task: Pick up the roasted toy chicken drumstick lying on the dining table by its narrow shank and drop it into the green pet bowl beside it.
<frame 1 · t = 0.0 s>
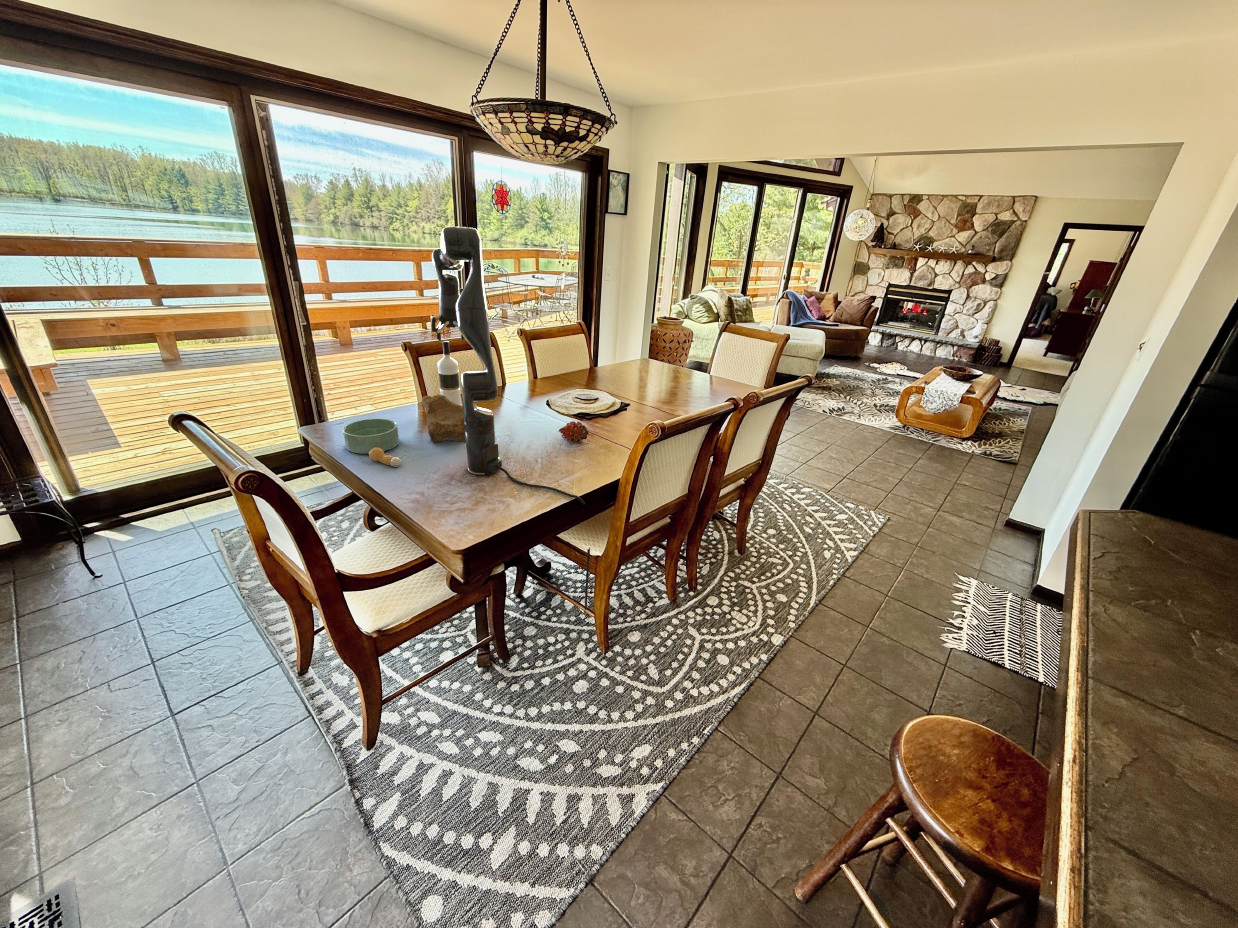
hand: (451, 339, 193), 31 cm above the table, tool tilted 20°, fingers open, 8 cm apart
drumstick: (383, 462, 161), on the table
vodka: (452, 411, 209), on the table
green pet bowl: (373, 445, 173), on the table
rough brown rock: (448, 438, 182), on the table
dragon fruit: (573, 441, 187), on the table
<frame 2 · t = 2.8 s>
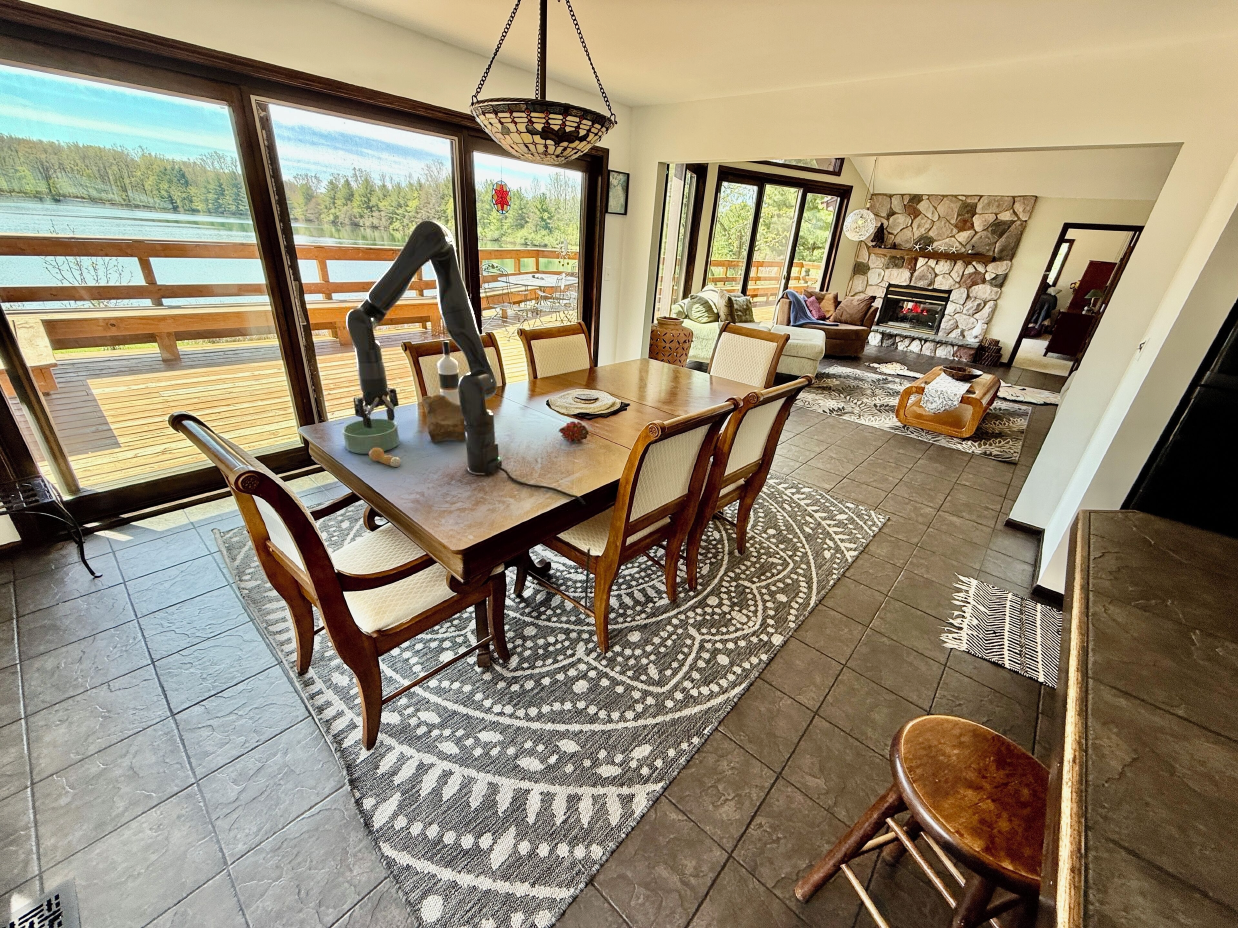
hand: (380, 424, 154), 14 cm above the table, tool pointing down, fingers open, 8 cm apart
nothing on the table moved.
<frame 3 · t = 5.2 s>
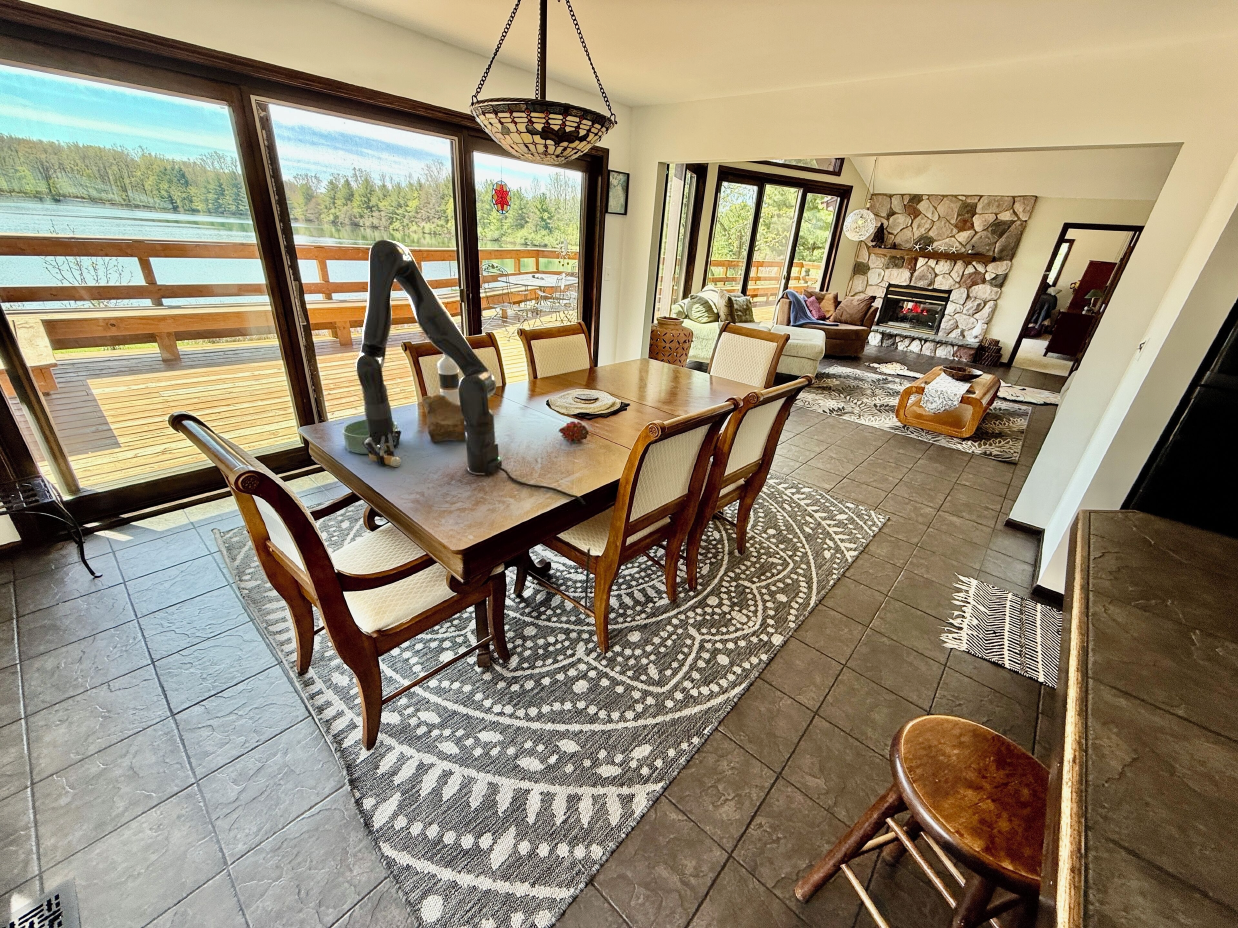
hand: (386, 462, 160), 0 cm above the table, tool pointing down, fingers closed on drumstick, 3 cm apart
drumstick: (383, 462, 161), on the table, touching gripper
everything else where it was.
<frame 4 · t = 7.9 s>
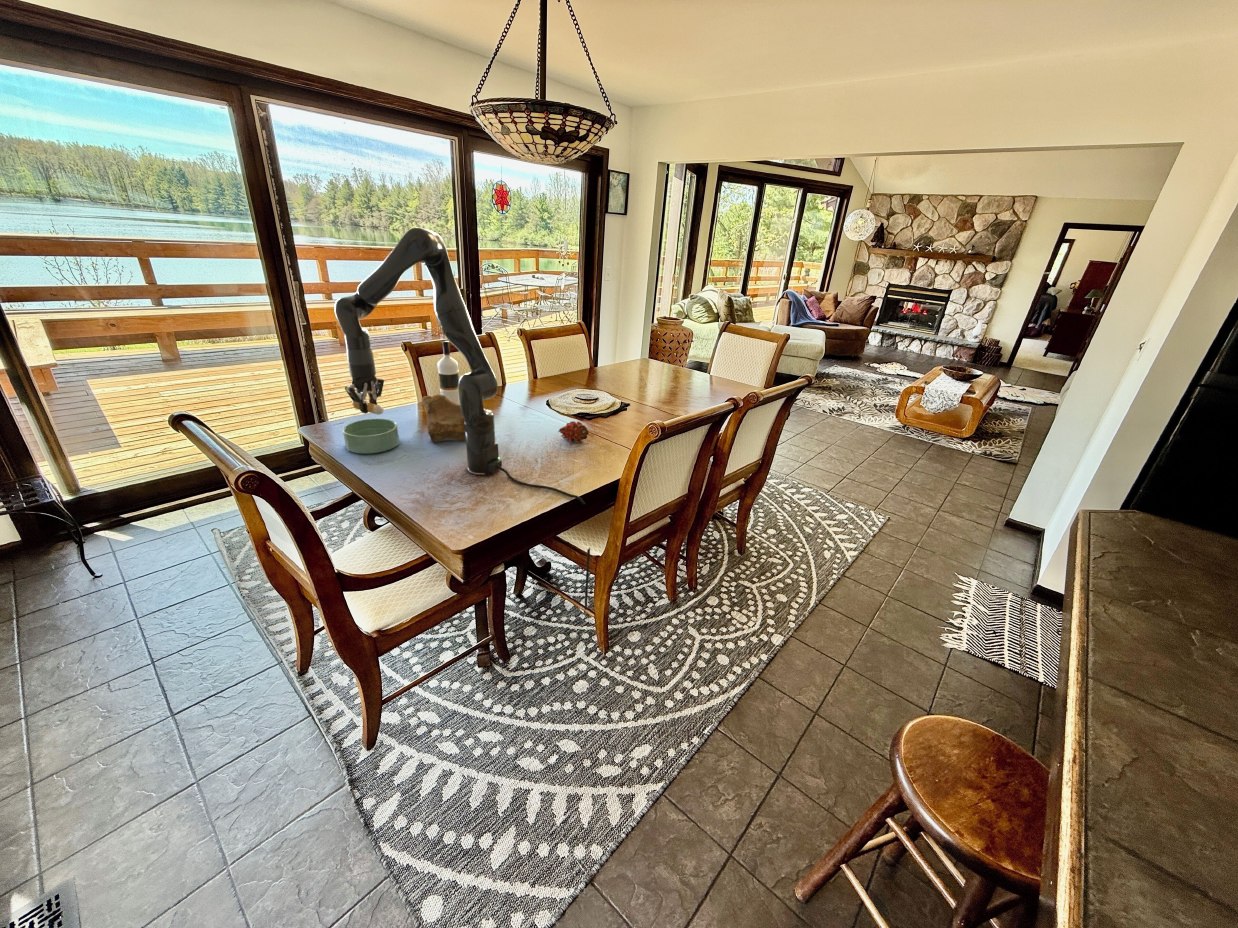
hand: (369, 411, 163), 15 cm above the table, tool pointing down, fingers closed on drumstick, 3 cm apart
drumstick: (366, 410, 163), point 14 cm above the table, touching gripper
everything else where it was.
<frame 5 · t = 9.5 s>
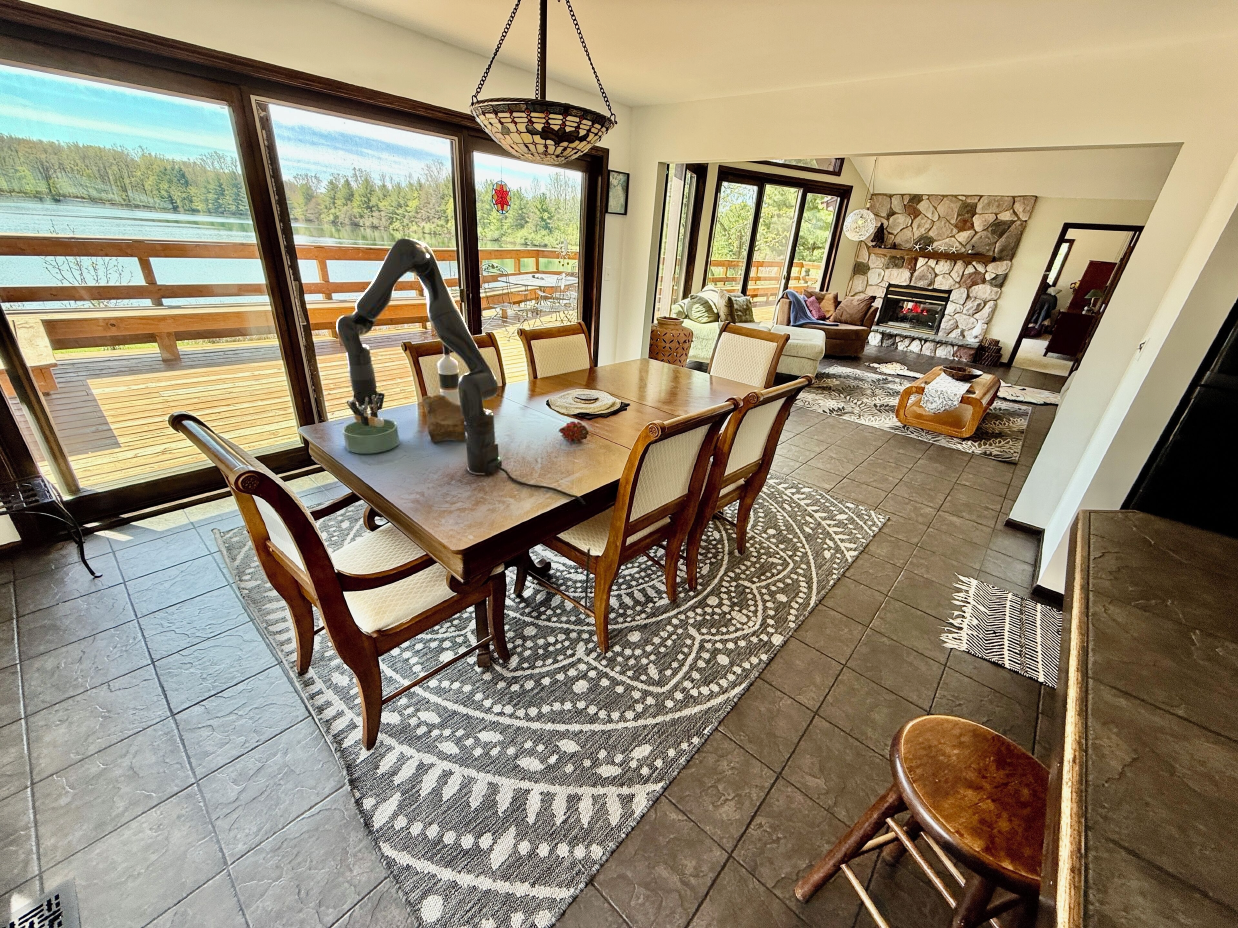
hand: (370, 423, 168), 9 cm above the table, tool pointing down, fingers closed on drumstick, 3 cm apart
drumstick: (367, 423, 169), point 8 cm above the table, touching gripper
everything else where it was.
when the fingers open (3 cm above the table, at t = 10.9 s): drumstick drops 2 cm, resting on green pet bowl.
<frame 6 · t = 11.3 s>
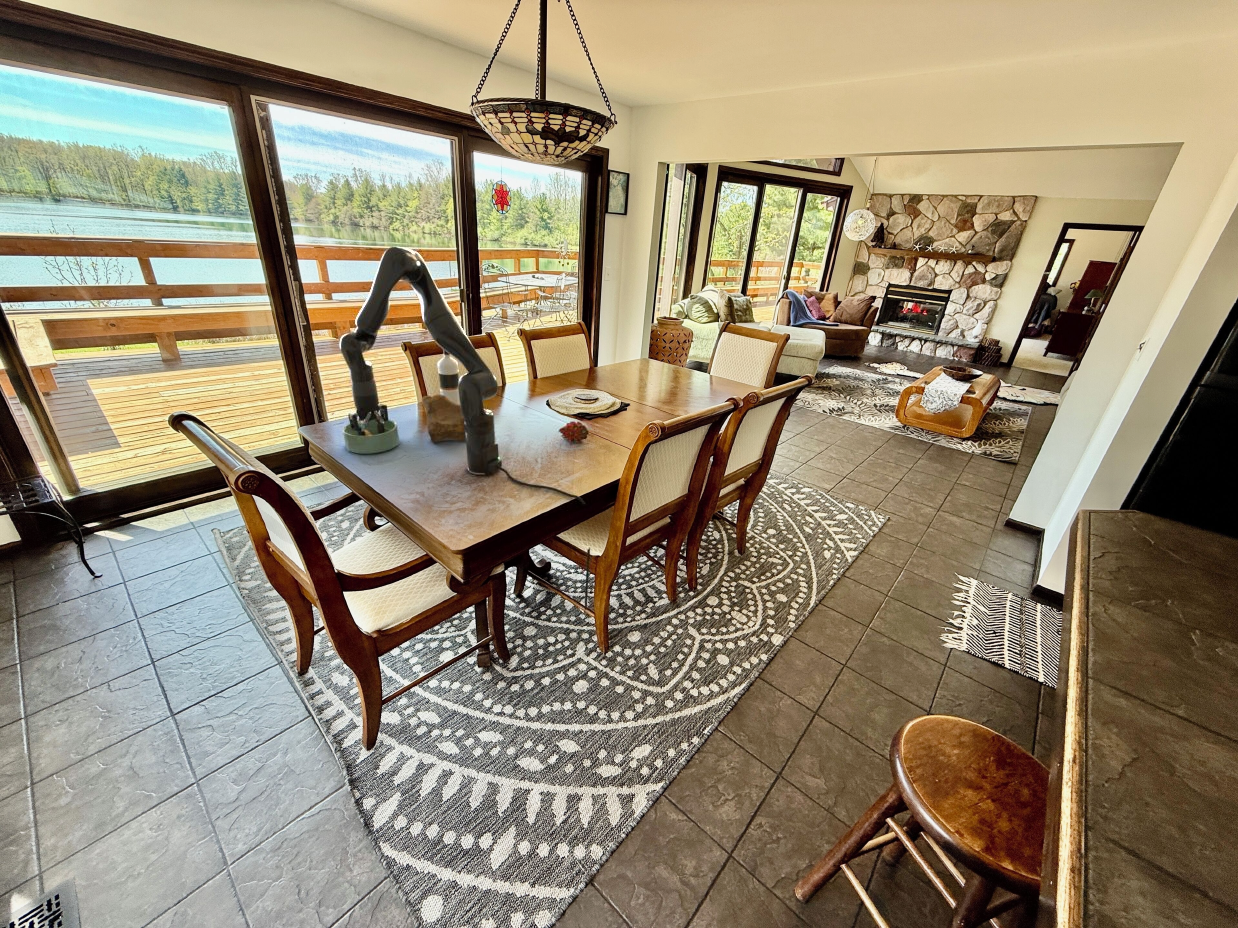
hand: (372, 436, 170), 4 cm above the table, tool pointing down, fingers open, 7 cm apart
drumstick: (370, 442, 172), point 1 cm above the table, tilted 9°, touching green pet bowl
everything else where it was.
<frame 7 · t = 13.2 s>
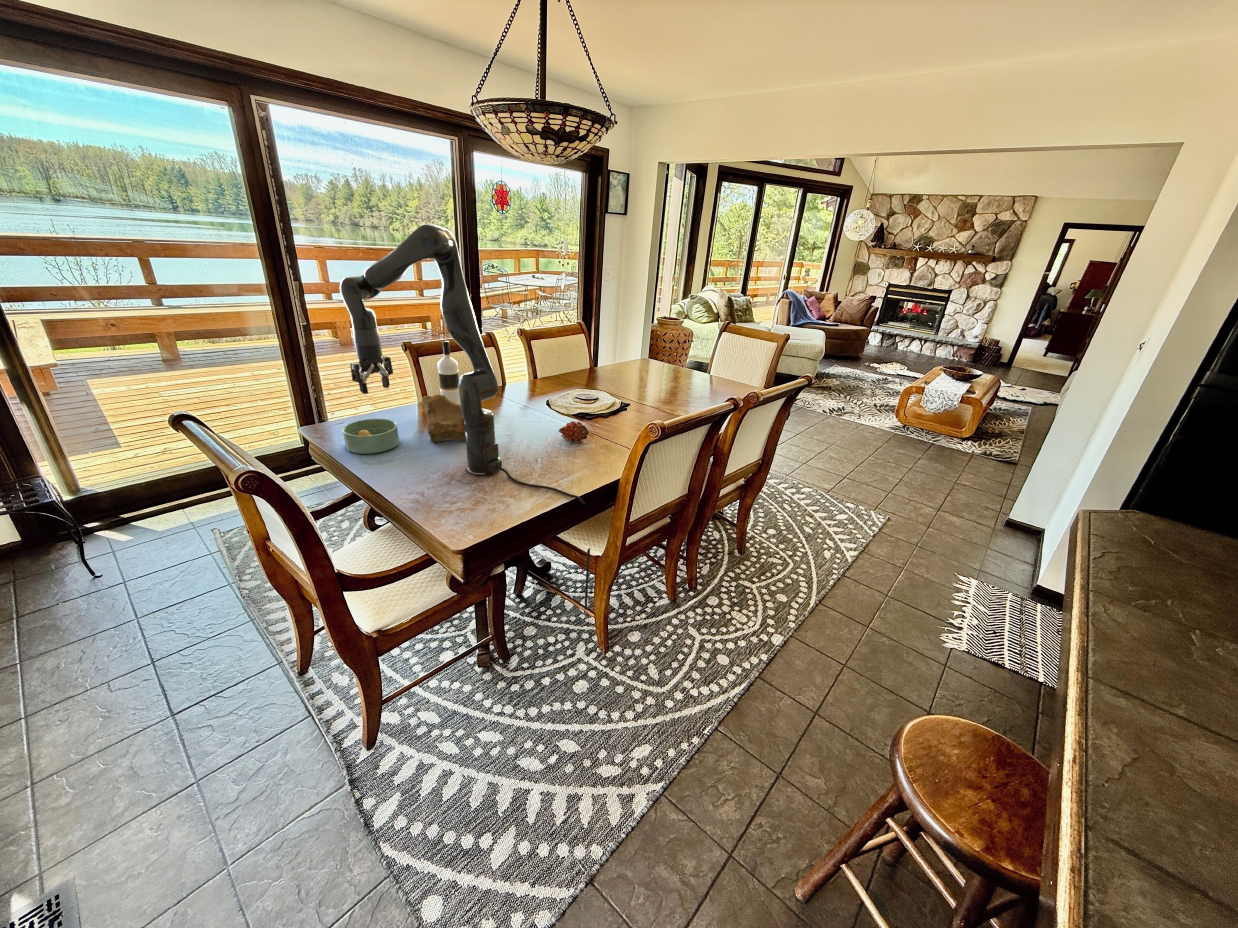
hand: (375, 390, 163), 21 cm above the table, tool pointing down, fingers open, 8 cm apart
nothing on the table moved.
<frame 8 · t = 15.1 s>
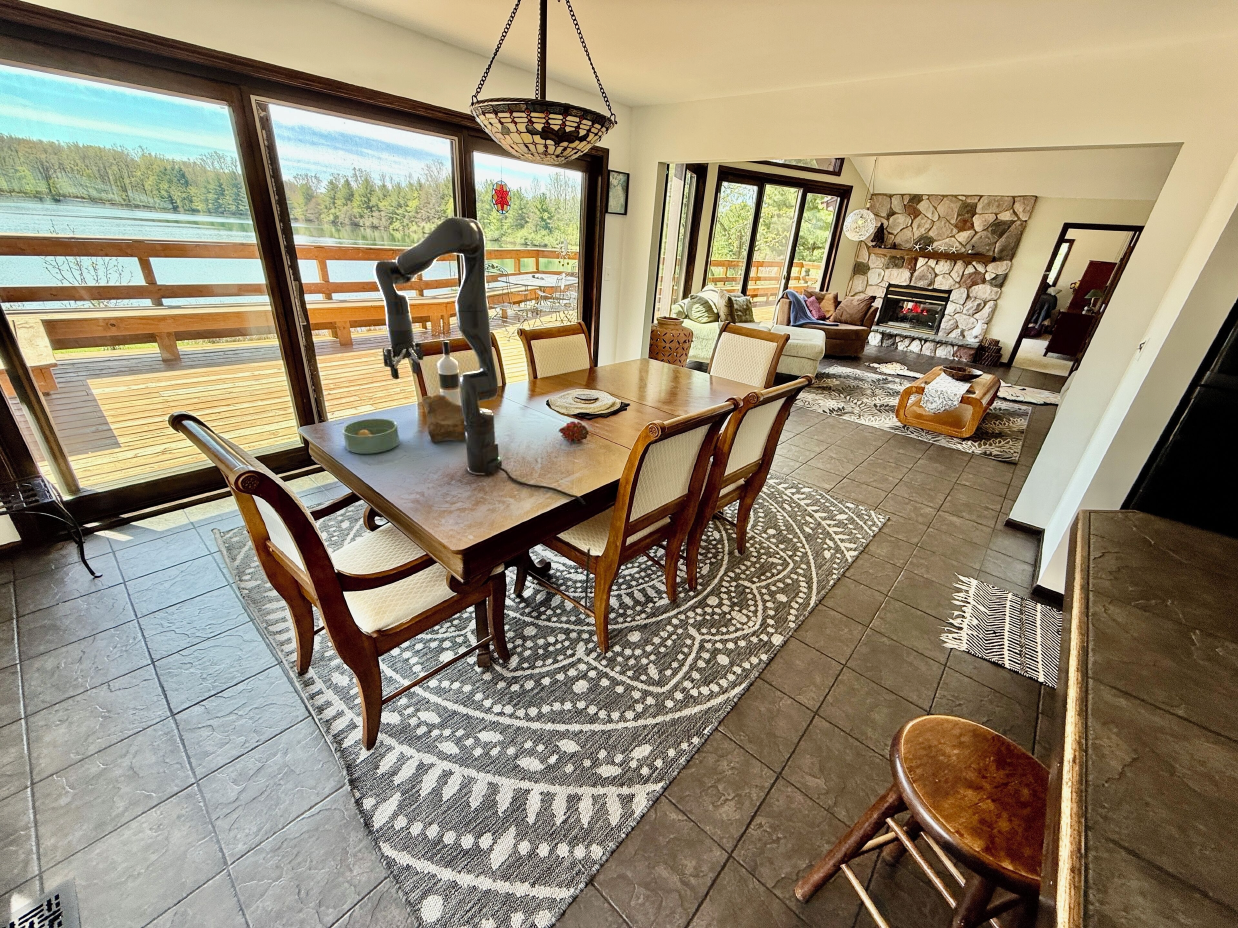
hand: (406, 376, 162), 26 cm above the table, tool pointing down, fingers open, 8 cm apart
nothing on the table moved.
at the end: drumstick inside the target area in the green pet bowl (0.7 cm from its centre), point 1.0 cm above the green pet bowl's base; the gripper is holding nothing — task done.
